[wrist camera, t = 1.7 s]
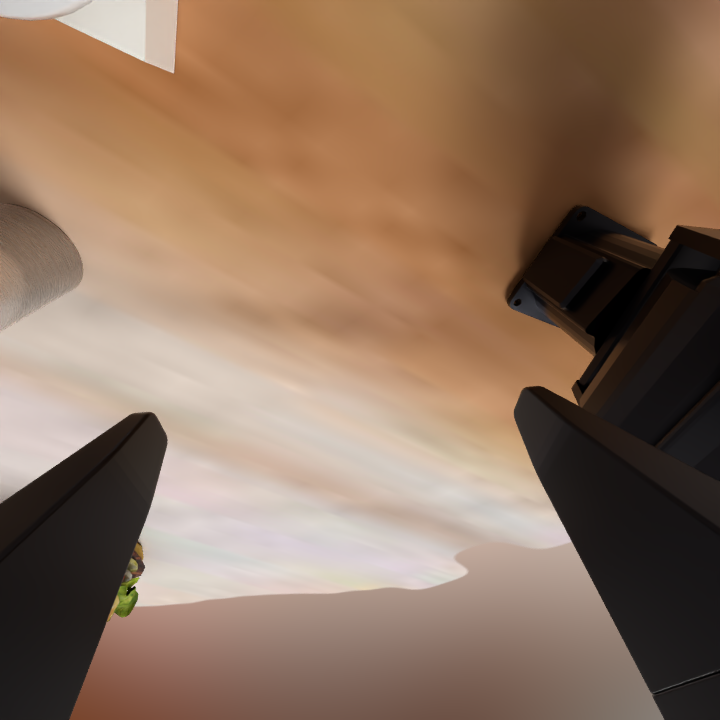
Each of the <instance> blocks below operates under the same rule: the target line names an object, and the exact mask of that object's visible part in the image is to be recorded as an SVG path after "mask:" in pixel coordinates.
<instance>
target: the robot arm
mask: <svg viewBox="0 0 720 720" xmlns="http://www.w3.org/2000/svg"><path fill="white" fill-rule="evenodd" d="M580 212H582V213H581V216H580V217H579V218H578V219H577V215H578V214H579V213H580ZM668 239H670V242H669V243H668V245H667V246H666V248H665V249H664V248H661V247H658V246H657V245H656V244H654V243H653V242H651V241H649V240H647V239H645V238H643V237H642V236H640V235H638V234H636V233H634V232H633V231H631V230H629V229H627V228H625V227H624V226H622V225H620V224H618V223H616V222H615V221H613V220H611V219H609V218H607V217H606V216H604V215H602V214H600V213H598V212H597V211H595V210H593V209H591V208H589V207H587V206H583V205H578V206H576V207H574V208H573V209H572V210H571V211H570V212H569V214H568V215H567V216H566V218H565V219H564V221H563V222H562V223H561V225H560V226H559V228H558V229H557V230H556V232H555V233H554V235H553V236H552V237H551V239H549V241H548V242H547V244H546V245H545V246H544V248H543V249H542V251H541V252H540V253H539V255H538V256H537V258H536V259H535V260H534V262H533V263H532V265H531V266H530V267H529V269H528V270H527V272H526V273H525V274H524V277H523V278H522V279H521V281H520V282H519V284H518V285H517V286H516V288H515V289H514V291H513V292H512V293H511V295H510V296H509V298H508V300H507V304H508V306H509V307H510V308H512V309H513V310H516V311H518V312H521V313H524V314H526V315H529V316H531V317H534V318H536V319H539V320H541V321H544V322H546V323H549V324H551V325H554V326H556V327H559V328H561V329H562V330H563V331H564V332H566V333H567V334H568V335H569V336H570V337H572V338H573V339H574V340H575V341H576V342H578V343H579V344H580V345H581V346H582V347H583V348H585V349H586V350H587V351H588V352H589V353H591V354H592V355H593V356H594V358H593V360H592V361H591V363H590V364H589V366H588V367H587V369H586V370H585V372H584V373H583V375H582V376H581V378H580V380H577V381H576V382H575V383H574V385H573V387H572V391H573V394H574V396H575V398H576V400H577V403H578V405H579V406H578V405H576V404H574V403H572V402H570V401H568V400H566V399H565V398H563V397H561V396H559V395H557V394H555V393H553V392H552V391H550V390H548V389H546V388H544V387H541V386H533V387H525V388H524V389H523V390H522V391H521V394H520V396H519V399H518V401H517V404H516V406H515V409H514V418H515V421H516V424H517V426H518V429H519V431H520V434H521V436H522V439H523V441H524V444H525V446H526V449H527V451H528V454H529V457H530V459H531V462H532V464H533V466H534V469H535V471H536V473H537V475H538V477H539V479H540V481H541V483H542V485H543V487H544V489H545V491H546V493H547V495H548V497H549V499H550V501H551V502H552V504H553V506H554V508H555V510H556V512H557V514H558V516H559V518H560V520H561V522H562V524H563V525H564V527H565V529H566V531H567V533H568V535H569V537H570V539H571V541H572V543H573V544H574V547H575V548H576V550H577V552H578V554H579V556H580V558H581V560H582V562H583V564H584V566H585V568H586V569H587V571H588V573H589V575H590V577H591V579H592V581H593V583H594V585H595V587H596V589H597V590H598V593H599V594H600V596H601V598H602V600H603V602H604V604H605V606H606V608H607V610H608V612H609V613H610V616H611V617H612V619H613V621H614V623H615V625H616V627H617V629H618V631H619V633H620V635H621V636H622V639H623V640H624V642H625V644H626V646H627V648H628V650H629V652H630V654H631V656H632V658H633V660H634V661H635V663H636V665H637V667H638V669H639V671H640V673H641V675H642V677H643V679H644V681H645V683H646V684H647V686H648V688H649V690H650V692H651V693H652V696H653V698H654V700H655V702H656V704H657V706H658V708H659V710H660V712H661V714H662V716H663V718H664V720H720V229H710V228H701V227H692V226H683V225H677V226H676V228H675V229H674V231H673V232H672V234H671V235H670V237H669V238H668ZM517 299H519V300H518V302H516V303H514V301H515V300H517ZM166 448H167V435H166V433H165V431H164V429H163V428H162V426H161V424H160V422H159V420H158V418H157V416H156V415H155V414H154V413H152V412H142V413H133V414H131V415H129V416H128V417H126V418H125V419H123V420H122V421H120V422H119V423H117V424H116V425H115V426H113V427H112V428H110V429H109V430H107V431H106V432H104V433H103V434H101V435H100V436H98V437H97V438H96V439H94V440H93V441H91V442H90V443H88V444H87V445H85V446H84V447H82V448H81V449H79V450H78V451H77V452H75V453H74V454H72V455H71V456H69V457H68V458H66V459H65V460H63V461H62V462H60V463H59V464H58V465H56V466H55V467H53V468H52V469H50V470H49V471H47V472H46V473H44V474H43V475H41V476H40V477H39V478H37V479H36V480H34V481H33V482H31V483H30V484H28V485H27V486H25V487H24V488H22V489H21V490H20V491H18V492H17V493H15V494H14V495H12V496H11V497H9V498H8V499H6V500H5V501H4V502H2V503H1V504H0V720H69V719H70V716H71V714H72V711H73V708H74V706H75V703H76V701H77V698H78V695H79V693H80V690H81V688H82V685H83V682H84V680H85V677H86V674H87V672H88V669H89V667H90V664H91V662H92V659H93V656H94V654H95V651H96V648H97V646H98V643H99V641H100V638H101V635H102V633H103V630H104V628H105V625H106V622H107V620H108V617H109V615H110V612H111V609H112V607H113V604H114V602H115V599H116V596H117V594H118V591H119V588H120V586H121V583H122V581H123V578H124V575H125V573H126V570H127V568H128V565H129V562H130V560H131V557H132V555H133V552H134V549H135V547H136V544H137V542H138V539H139V536H140V534H141V531H142V528H143V526H144V523H145V521H146V518H147V515H148V512H149V510H150V507H151V503H152V500H153V497H154V493H155V489H156V485H157V482H158V478H159V474H160V470H161V466H162V463H163V459H164V455H165V451H166Z"/></svg>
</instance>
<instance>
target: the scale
mask: <svg viewBox="0 0 720 720" xmlns="http://www.w3.org/2000/svg"><path fill="white" fill-rule="evenodd" d="M177 10H178V0H0V16H1V17H5V18H9V19H19V20H29V21H35V20H47V19H56V20H58V21H60V22H62V23H64V24H66V25H68V26H71V27H73V28H75V29H77V30H79V31H81V32H83V33H85V34H87V35H89V36H92V37H94V38H96V39H98V40H100V41H102V42H104V43H106V44H108V45H111V46H113V47H115V48H117V49H119V50H121V51H123V52H125V53H127V54H129V55H132V56H134V57H136V58H138V59H140V60H142V61H144V62H146V63H149V64H151V65H154V66H156V67H159V68H161V69H164V70H166V71H169V72H171V73H174V66H175V48H176V29H177Z"/></svg>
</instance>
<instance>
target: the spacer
mask: <svg viewBox="0 0 720 720" xmlns="http://www.w3.org/2000/svg"><path fill="white" fill-rule="evenodd" d="M82 276H83V265H82V261H81V258H80V255H79V253H78V251H77V249H76V248H75V246H74V245H73V243H72V242H71V240H70V239H69V238H68V237H67V236H66V235H65V234H64V233H63V232H62V231H61V230H60V229H59V228H58V227H57V226H56V225H55V224H53V223H52V222H51V221H49V220H48V219H46V218H45V217H43V216H41V215H40V214H38V213H36V212H34V211H32V210H29V209H27V208H24V207H21V206H17V205H12V204H0V332H1V331H3V330H4V329H6V328H8V327H9V326H11V325H13V324H15V323H16V322H18V321H20V320H21V319H23V318H25V317H27V316H28V315H30V314H32V313H33V312H35V311H37V310H39V309H40V308H42V307H44V306H46V305H47V304H49V303H51V302H52V301H54V300H56V299H58V298H59V297H61V296H63V295H64V294H66V293H68V292H70V291H71V290H73V289H74V288H76V287H77V286H78V285H79V283H80V282H81V279H82Z"/></svg>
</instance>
